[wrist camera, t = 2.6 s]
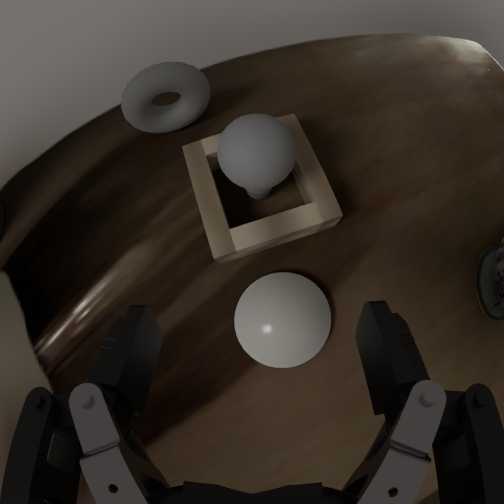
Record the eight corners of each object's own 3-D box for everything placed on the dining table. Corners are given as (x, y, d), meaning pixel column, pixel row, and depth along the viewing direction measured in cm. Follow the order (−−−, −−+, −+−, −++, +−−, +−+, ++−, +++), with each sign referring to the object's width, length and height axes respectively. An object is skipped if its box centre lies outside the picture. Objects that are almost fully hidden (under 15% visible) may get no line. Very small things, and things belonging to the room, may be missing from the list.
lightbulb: (279, 226, 28) (288, 177, 17) (221, 210, 28) (197, 155, 18) (294, 174, 29) (308, 108, 18) (240, 159, 29) (228, 91, 19)
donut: (213, 102, 31) (199, 43, 22) (220, 122, 31) (205, 61, 21) (139, 128, 31) (106, 78, 21) (141, 149, 31) (105, 99, 21)
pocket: (220, 264, 27) (213, 258, 24) (190, 162, 30) (182, 146, 26) (334, 226, 28) (343, 215, 24) (291, 131, 30) (294, 113, 26)
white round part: (252, 377, 25) (252, 380, 24) (223, 290, 27) (221, 290, 26) (340, 346, 25) (342, 348, 24) (311, 260, 27) (312, 259, 26)
